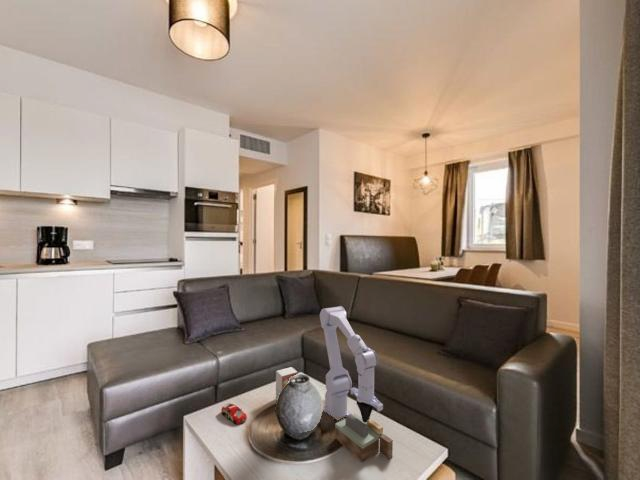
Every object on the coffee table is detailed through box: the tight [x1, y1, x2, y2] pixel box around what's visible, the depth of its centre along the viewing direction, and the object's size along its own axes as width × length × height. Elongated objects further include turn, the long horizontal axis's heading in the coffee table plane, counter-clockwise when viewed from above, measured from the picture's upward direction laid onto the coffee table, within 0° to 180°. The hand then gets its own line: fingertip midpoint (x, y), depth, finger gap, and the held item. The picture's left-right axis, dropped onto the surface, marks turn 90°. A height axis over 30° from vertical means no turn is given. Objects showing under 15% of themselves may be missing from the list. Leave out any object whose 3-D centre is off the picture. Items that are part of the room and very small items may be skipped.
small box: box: [275, 366, 299, 400], centre depth 137 cm, size 8×6×13 cm
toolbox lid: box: [334, 413, 384, 449], centre depth 108 cm, size 14×10×5 cm
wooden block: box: [367, 418, 384, 434], centre depth 108 cm, size 6×2×2 cm, turn 37°
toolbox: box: [334, 427, 394, 463], centre depth 107 cm, size 18×10×6 cm, turn 37°
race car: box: [220, 403, 248, 425], centre depth 124 cm, size 13×5×4 cm, turn 48°
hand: (365, 420), depth 111 cm, fingers closed
